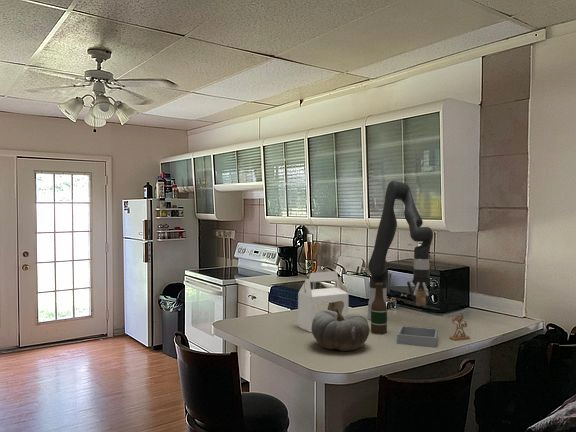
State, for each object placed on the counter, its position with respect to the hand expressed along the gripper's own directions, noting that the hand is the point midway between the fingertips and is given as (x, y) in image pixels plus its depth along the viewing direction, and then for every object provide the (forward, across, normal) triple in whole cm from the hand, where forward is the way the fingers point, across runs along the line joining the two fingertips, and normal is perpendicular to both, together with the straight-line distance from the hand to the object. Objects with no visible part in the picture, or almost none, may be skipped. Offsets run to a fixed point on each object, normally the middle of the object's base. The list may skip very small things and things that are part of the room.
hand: (421, 302), depth 240 cm
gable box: (+14, -47, -8) cm, 50 cm away
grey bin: (+14, 0, -16) cm, 22 cm away
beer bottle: (+14, -19, -8) cm, 25 cm away
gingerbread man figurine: (+15, +18, -6) cm, 24 cm away
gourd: (+14, -32, -38) cm, 51 cm away
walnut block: (+1, 0, 0) cm, 1 cm away
